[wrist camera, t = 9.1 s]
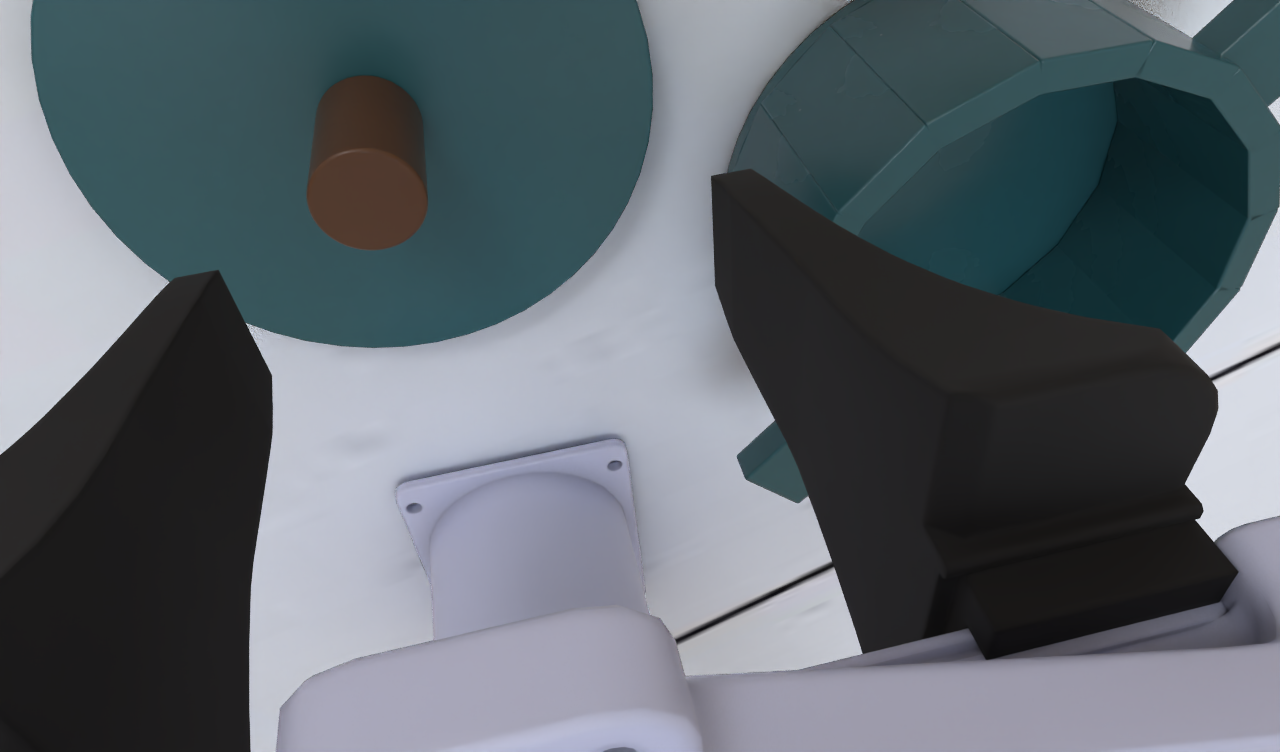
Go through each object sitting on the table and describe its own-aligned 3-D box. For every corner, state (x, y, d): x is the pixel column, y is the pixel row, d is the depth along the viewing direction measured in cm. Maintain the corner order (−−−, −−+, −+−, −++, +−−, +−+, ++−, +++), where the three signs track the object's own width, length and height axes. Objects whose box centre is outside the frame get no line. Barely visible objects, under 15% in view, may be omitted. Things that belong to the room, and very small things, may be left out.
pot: (1280, 56, 27) (1456, 152, 22) (839, 438, 34) (906, 567, 30) (1076, -274, 20) (1274, -228, 15) (577, 297, 27) (614, 437, 23)
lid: (752, 39, 23) (816, 122, 19) (456, 388, 28) (466, 501, 25) (211, -425, 15) (161, -423, 12) (-45, 172, 21) (-129, 291, 18)
